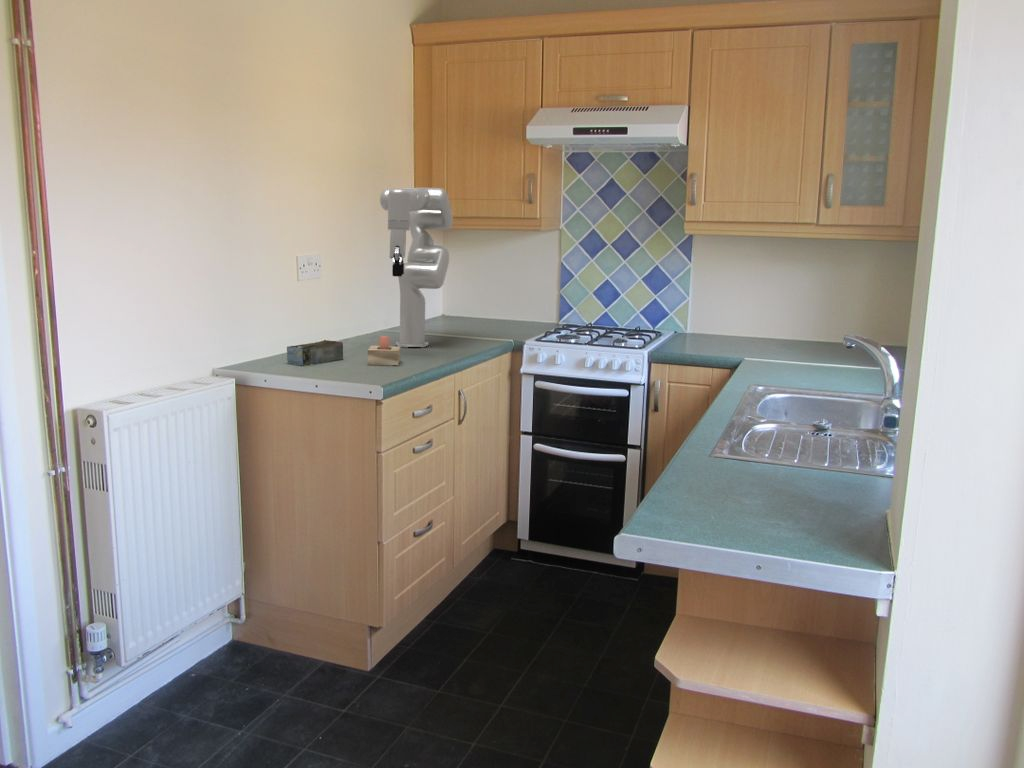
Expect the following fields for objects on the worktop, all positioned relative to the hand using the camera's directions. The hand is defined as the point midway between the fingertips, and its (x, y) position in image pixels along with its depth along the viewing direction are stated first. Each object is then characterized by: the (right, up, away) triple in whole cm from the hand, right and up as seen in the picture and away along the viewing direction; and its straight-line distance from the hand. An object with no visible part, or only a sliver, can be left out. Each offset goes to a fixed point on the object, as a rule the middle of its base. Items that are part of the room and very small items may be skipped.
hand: (398, 275), depth 302 cm
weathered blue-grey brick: (-26, -31, -14) cm, 43 cm away
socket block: (-3, -31, -12) cm, 34 cm away
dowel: (-3, -31, -12) cm, 34 cm away
